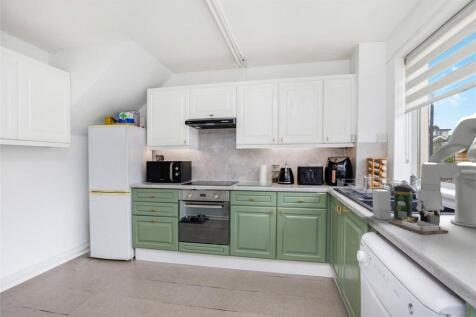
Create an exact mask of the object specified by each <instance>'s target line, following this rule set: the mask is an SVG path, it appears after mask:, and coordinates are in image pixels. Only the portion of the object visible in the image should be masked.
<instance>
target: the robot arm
mask: <svg viewBox="0 0 476 317" xmlns="http://www.w3.org/2000/svg"><path fill="white" fill-rule="evenodd" d="M464 151H467V152H466V159H467V160H468V161H465V162H464V161H463V162H459V163H457V164H456V163H453V162H445V161H446V160H447V159H448V158H450V157H452V156H455V155H457V154H460V153H462V152H464ZM441 178H446V179H454V188H455V189H454V190H455V193H454V218H452V219H450V223H452V224H454V225H457V226H462V227H467V228H473V229H474V228H475V229H476V113H474V114H473V115H470V116H466V117H462V118H461V119H460V120H458V122H457V123H456V125H455V127H454V129H453V131H452V133H451V134H450V136H449V138H448V141H447V142H446V143H445V144H443V145H441V146H440V147H439V148H438V149H436V150H435V151H434V152H433V153H432V155H430V157H429V158H428V161H427V162H423V163H422V164H421V169H420V189H419V192H418V196H417V205H416V206H415V209H416V211H417V213H418V215H419V220H420V221H423V222H427V216H426V215H427V213H429V212H432V214H434V215H435V216H439V224H441V222H440V221H441V215H442V212H443V211H444V209H445V207H444V205H443V197H442V192H441V190H442V189H441V184H442V183H441V182H442V179H441Z"/></svg>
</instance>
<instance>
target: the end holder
mask: <svg viewBox="0 0 476 317" xmlns="http://www.w3.org/2000/svg"><path fill="white" fill-rule="evenodd" d="M417 224H419V225H422V226H425V227H421V226H418V225H415V224H411V223H408V222H405V221H402V225H404V226H407V227H410V228H413V229H416V230H419V231H422V232H423V231H438V230H440V228H441V226H440V225H439V226H437V225H434V224H430V223H427V222H423V221H420V219H419V220H417Z"/></svg>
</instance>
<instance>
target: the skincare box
mask: <svg viewBox="0 0 476 317" xmlns="http://www.w3.org/2000/svg"><path fill="white" fill-rule="evenodd" d="M391 198H392V196H391V191H390V190H386V189H372V216H373V217H375V219H378V220H383V221H384V220H388V221H392V214H391V213H392V211H391V210H392V208H391V206H392V205H391V204H392V203H391V201H392V200H391Z"/></svg>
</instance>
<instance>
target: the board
mask: <svg viewBox="0 0 476 317" xmlns="http://www.w3.org/2000/svg"><path fill="white" fill-rule="evenodd" d="M417 220H420V216H417V215H413V214H412V215H410V217H406V219H404V218H402V219H397V220H396V219H395V220H388V221H387V223H388V224H391V225H394V226H397V227H399V228H402V229H404V230H407V231H411V232H413V233H415V234H419V235H422V236H423V235H438V234H448V233H449V230H446V229H444V228H441V227H440V230H438V231H423V232H422V231H419V230H416V229H413V228H410V227H407V226H404V225H402V221H405V222H408V223H411V224H415V225H418V226H421V227H425V226H422V225H419V224H417Z"/></svg>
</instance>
